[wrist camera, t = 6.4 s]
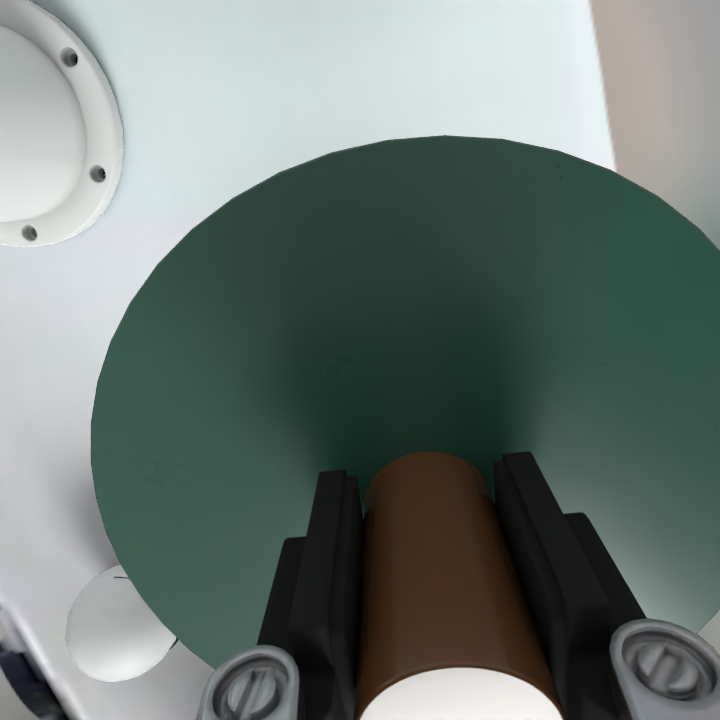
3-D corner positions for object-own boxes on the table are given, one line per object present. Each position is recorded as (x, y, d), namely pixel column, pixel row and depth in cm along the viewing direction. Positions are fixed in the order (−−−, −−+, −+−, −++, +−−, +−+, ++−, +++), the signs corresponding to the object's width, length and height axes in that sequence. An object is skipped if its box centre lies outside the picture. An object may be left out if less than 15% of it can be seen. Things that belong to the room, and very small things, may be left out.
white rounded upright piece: (134, 627, 41) (82, 720, 34) (82, 556, 38) (16, 640, 32) (245, 593, 39) (215, 685, 32) (198, 517, 37) (155, 598, 30)
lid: (19, 197, 10) (-418, 237, 5) (805, 78, 9) (1503, -64, 3) (199, 710, 16) (95, 1024, 10) (718, 680, 14) (941, 1020, 9)
